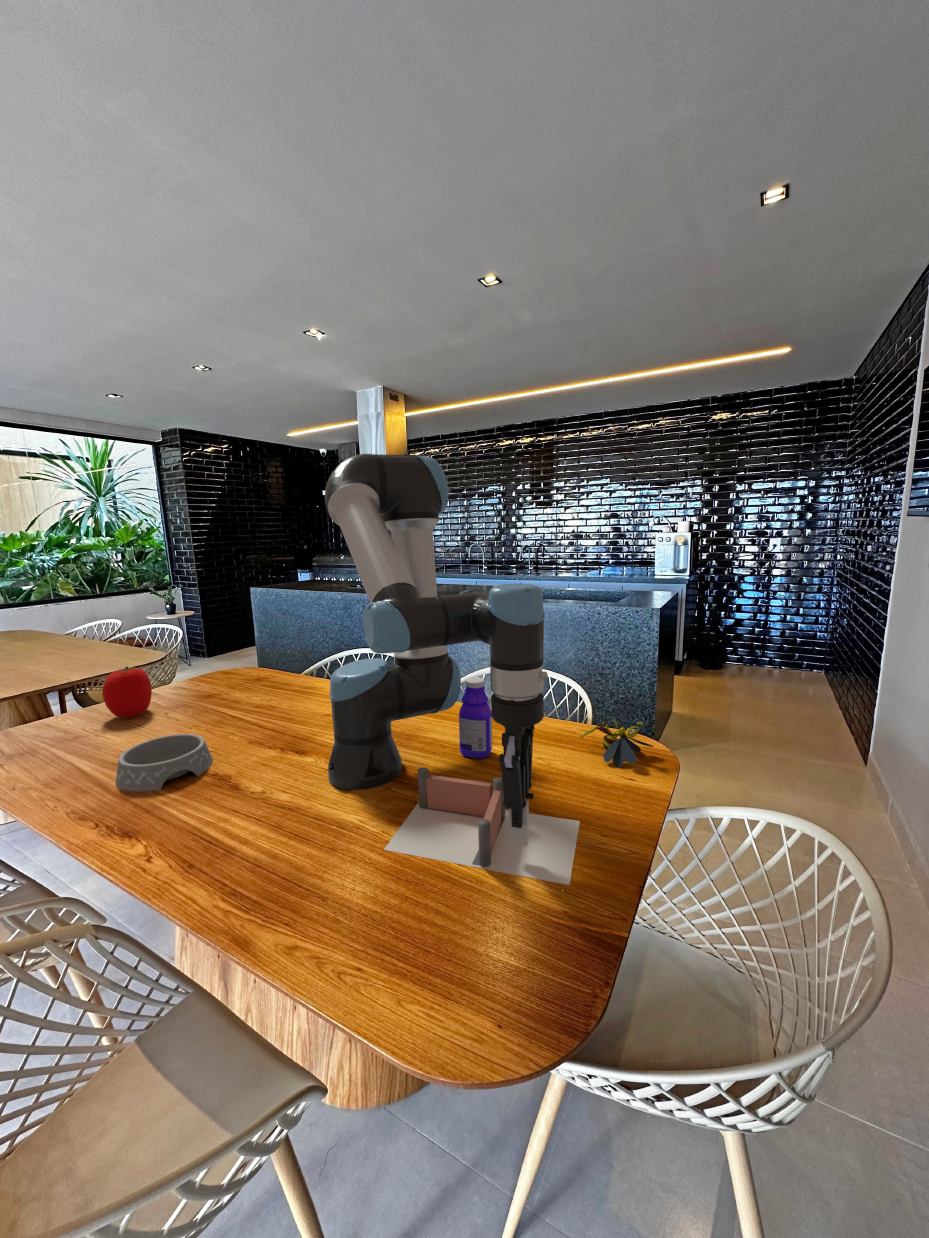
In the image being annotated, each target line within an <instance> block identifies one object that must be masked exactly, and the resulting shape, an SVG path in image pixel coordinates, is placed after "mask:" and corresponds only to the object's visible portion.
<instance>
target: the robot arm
mask: <svg viewBox="0 0 929 1238" xmlns="http://www.w3.org/2000/svg"><path fill="white" fill-rule="evenodd" d="M447 481H448V480H447V477H446V473H445V471H444V469H443V467H442V466H441V464H440V463H439V462H438V461H437V460H436V459H435V458H433V457H431V456H424V455H418V454H414V453H413V454H383V453H382V454H378V453H377V454H376V453H375V454H374V453H360V454H356V455H355V454H354V455H352V456H351V457H348V458H346V459H345V460H344V461H342V462H340V464H338V465H337V466H336V468H335V469H334V470H333V471H332V472H331V474H330V475H329V478H328V480H327V482H326V487H325V491H324V501H325V502H324V503H325V507H326V510H327V512H328V515H329V517H330V519H331V521H332V522H334V523H335V524H336V526H339V527H340V530H341V533H342V535H343V537H344V539H345V540H344V541H345V542H346V546H347V547H348V550H349V552H350V555H351V557H352V561H353V563H354V565H355V567H356V570H357V573H358V576H359V578H360V580H361V583H362V586H363V588H364V591H365V593H366V596H367V599H368V601H369V603H368V604H367V605H366V606H365V607H364V610H363V615H362V626H363V632H364V636H365V637H364V638H365V642H366V644H367V646H368V647H369V649H370V650H371V651H372V652H373V653H375V654H380V655H381V654H393V660H394V661H393V663H391V664H388V662H387V661H386V660H385V659H383V658H378V657H377V658H376V657H375V658H364V659H358V660H353V661H352V662H348V663H346V664H344V665H342V666H340V667H338V668H337V669H336V670H334V672H333V673H332V674H331V676H330V679H329V681H330V682H329V699H330V703H331V715H332V726H333V739H334V742H333V746H332V749H331V753H330V757H329V760H328V765H327V775H328V781H329V783H330V784H331V785H333V786H334V787H336V788H337V789H338V788H339V789H342V790H345V791H352V790H353V791H361V790H363V791H364V790H371V789H375V788H378V787H382V786H384V785H387V784H389V783H391V782H392V781H394V780H396V779H397V778H398V777H399V776H400V774H401V773H402V771H403V766H402V765H403V764H402V763H403V762H402V757H401V754H400V751H399V750H398V747H397V744H396V742H395V740H394V738H393V734H392V722H396V721H401V720H404V719H405V720H406V719H409V718H414V717H420V716H425V715H430V714H432V715H435V714H437V713H439V712H443V711H446V710H449V709H451V708H452V707H454V706H455V704H456V702H457V701H458V699H459V696H460V692H461V687H462V686H461V685H462V683H461V681H462V679H461V678H462V677H461V670H460V669H459V663H458V661H457V660H456V658H455V657H454V656H451V655H449V649H448V648H447V647H446V646H451V645H456V644H459V645H460V644H466V643H471V642H482V643H485V644H487V645H489V654H490V655H489V657H490V663H489V664H490V671H489V672H490V674H489V675H490V691H491V693H492V694H491V696H490V699H491V700H490V702H491V703H490V709H491V713H492V721H494V722H495V723H497V724H498V725H501V726H502V727H504V732H502V733H501V746H502V747H503V753H500V754H499V756H498V762H499V766H500V770H501V771H500V772H501V778H502V782H503V792H504V801H503V805H505V809H507V810H509V843H513V844H518V845H524V846H527V845H528V842H529V813H530V808H529V800H532V801H533V800H534V798H535V797H534V796H535V793H534V792H533V793H532V792H530V790H531V789H532V787H533V783H532V774H533V770H532V769H533V749H534V748H533V746H534V736H535V735H534V734H535V729H536V728H535V725H537V724H539V723H540V722H542V721H543V719H544V717H545V700H544V699H545V698H544V697H545V696H544V695H543V692H544V679H547V678H548V675H549V674H548V672H547V671H545V670H544V671H543V669H544V644H545V643H544V642H545V641H544V640H545V639H544V638H545V635H544V634H545V632H544V631H545V610H544V600H543V599H544V598H543V591H542V589H541V588H540V586H538V585H536V584H532V583H502V584H497V585H493V586H492V587H490V589H489V591H488V592H487V591H483V590H482V589H475V590H474V589H473V590H472V589H467V590H462V591H460V592H458V593H457V594H450V595H440V596H438V589H437V587H438V586H437V575H436V564H435V563H436V560H435V559H436V558H435V547H434V533H433V530H434V528H435V527H436V526H437V524H438V523H439V522H440V514H442V513H443V512H444V511H446V509H447V505H448V499H449V487H448V486H449V485H448V482H447ZM527 799H528V800H527Z"/></svg>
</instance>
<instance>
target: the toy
mask: <svg viewBox="0 0 929 1238" xmlns="http://www.w3.org/2000/svg"><path fill="white" fill-rule="evenodd" d="M611 718H612V719H613V721H614V724H615V726H616V728H617V731H616V730H613V731H611V730H610V728H609V726H608V724H607V722H606V721H602V725H604V726H602V725H601V724H599V725H596V726H593V727H592V728H590V729H589V730H587V729H585V730H584V733H583V734H580V733H578V734H577V735H578V737H580V738H581V739H583V738H584V737H585V736H587V735H590V734H592V733H593V732H594V731H596V730H599V731H600V732H601V733H603V734H605V735H604V736H603V738H602V744H603V745H602V746H603V749H604V750H605V751H604V752H603V761H604V762H605V763H609V762H610V761H612V764H613V765H614V767H616V768H617V769H621V767H622V766H623V763H624V762H627V763H629V764H635V763H637V761H638V760H637V759H638V758H637V755H636V753H635V751H636V752H642V749H641V747H640V746H639V745H642V746H646V747H650V748H655V746H654V745H652V744H650V743H647V742H643V741H641V740H639V739H636V738H635V737H636V736H637V735H638V734H639V733H641V732H642V731H643V729H644V727H642V729H641V727H639V726H635V725H634V726H631V727H628V728H625V727H624V726H622V727H620V728H619V727H618V722H617V720H616V718H615V717H614V716H611ZM636 724H637V725H642V726H644V723H643V722H639V721H638V722H636ZM626 732H627V733H626ZM634 742H635V743H634ZM637 744H639V745H637Z"/></svg>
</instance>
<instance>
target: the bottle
mask: <svg viewBox="0 0 929 1238" xmlns="http://www.w3.org/2000/svg"><path fill="white" fill-rule="evenodd" d="M461 700H462V703H461V704H462V705H461V707H460V709H459V712H458V724H459V725H458V726H459V728H458V729H459V730H458V735H459V740H458V741H459V744H458V745H459V751H460V754H461V755H462V756H463V757H466V758H470V759H481V760H482V759H486V758H488V757H489V755H490V754H491V752H492V749H493V718H492V713H491V706H489V704H488V703H489V697H488V695H487V693H486V689H485V679H484V677H483V678H482V677H477V676H476V677H474V676H471V677H467V678H466V679H465V691H464V693H463V696H462V697H461Z"/></svg>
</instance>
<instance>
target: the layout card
mask: <svg viewBox="0 0 929 1238" xmlns="http://www.w3.org/2000/svg"><path fill="white" fill-rule="evenodd" d="M481 819H484V816H478V815H471V814H465V813H459V812H452V811H446V810H440V809H433V808H420V807H419V802H418V803H416V805H415V807H414V808H413V809H412V811H411V812H410V813H409V815H408V816H407V817H406V819H405V820H404V821H403V823H402V825H401V826H399V828H398V830H397V831H396V832H395V834H394V835H393V836H392V838H391V839H390V840H389V841H388V843H387V844H386V846H385V847H384V848H383V850H384V851H387V852H393V853H399V854H402V855H403V854H404V855H409V856H413V857H414V856H415V857H419V858H420V857H421V858H423V859H424V858H425V859H430V860H436V861H441V862H444V863H445V862H446V863H452V864H456V865H461V866H466V867H470V868H471V867H472V868H478V869H483V870H488V871H493V872H499V873H503V874H508V875H512V876H513V875H515V876H519V877H525V878H529V879H535V880H540V881H546V882H550V883H557V884H561V885H566V886H571V885H570V884H571V879H572V874H573V873H572V872H573V871H572V870H573V865H574V858H575V853H576V847H577V841H578V835H579V828H580V824H581V821H580V820H576V819H575V820H574V819H568V818H561V817H556V816H555V817H554V816H548V815H542V814H536V813H530V812H529V842H528V845H527V846H524V845H518V844H513V843H509V809H505V818H504V819H503V820H501V824H500V827H499V830H498V834H497V837H496V841H495V844H494V847H493V851H492V854H491V864H490V865H489V866H481V865H480V864H479V839H478V821H479V820H481Z"/></svg>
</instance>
